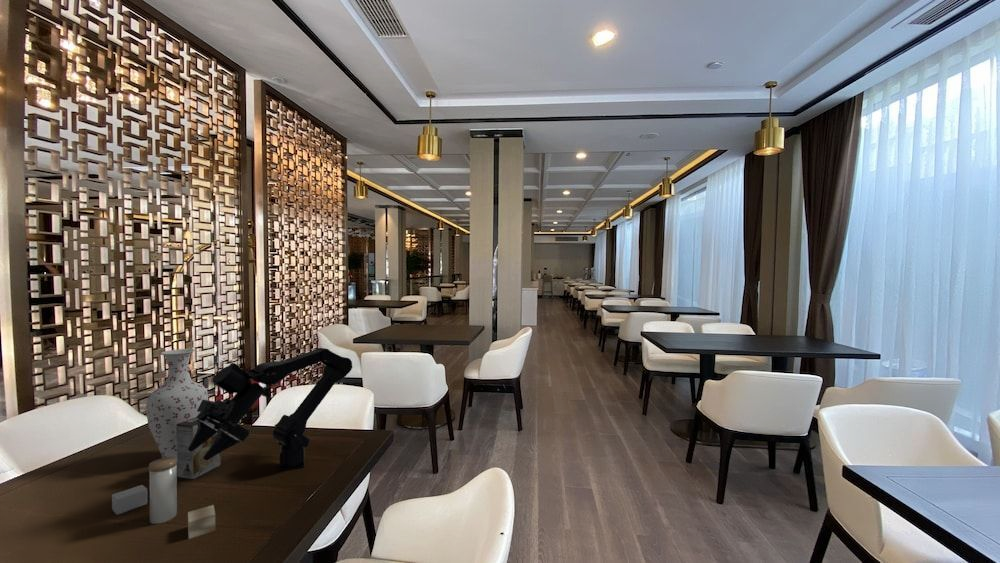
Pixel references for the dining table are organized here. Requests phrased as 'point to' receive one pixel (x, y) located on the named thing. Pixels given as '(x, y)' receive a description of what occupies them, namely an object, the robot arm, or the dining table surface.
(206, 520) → the birch block
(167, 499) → the ceramic jar
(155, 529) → the dining table surface
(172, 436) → the vase
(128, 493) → the grey block
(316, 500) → the dining table surface
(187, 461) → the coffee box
